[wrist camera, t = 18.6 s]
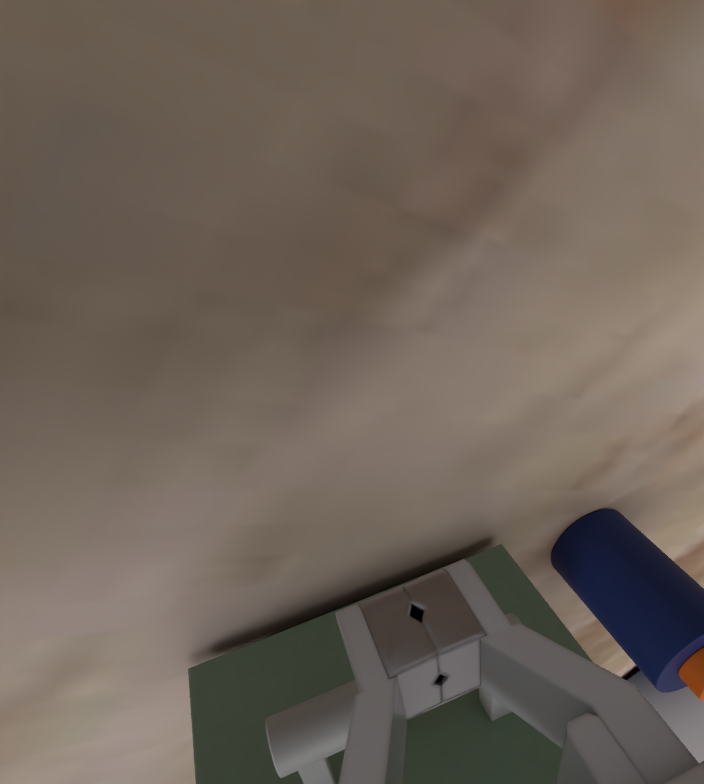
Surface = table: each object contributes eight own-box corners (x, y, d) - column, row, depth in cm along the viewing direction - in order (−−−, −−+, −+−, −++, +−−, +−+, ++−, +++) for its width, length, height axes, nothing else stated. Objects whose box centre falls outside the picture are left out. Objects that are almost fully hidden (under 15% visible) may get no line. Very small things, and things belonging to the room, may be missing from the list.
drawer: (148, 602, 17) (147, 1028, 9) (504, 471, 20) (731, 716, 12) (268, 803, 27) (316, 1089, 19) (494, 697, 29) (615, 911, 22)
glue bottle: (554, 528, 24) (691, 678, 18) (628, 497, 24) (784, 630, 18) (548, 582, 26) (668, 731, 20) (616, 552, 27) (751, 687, 21)
